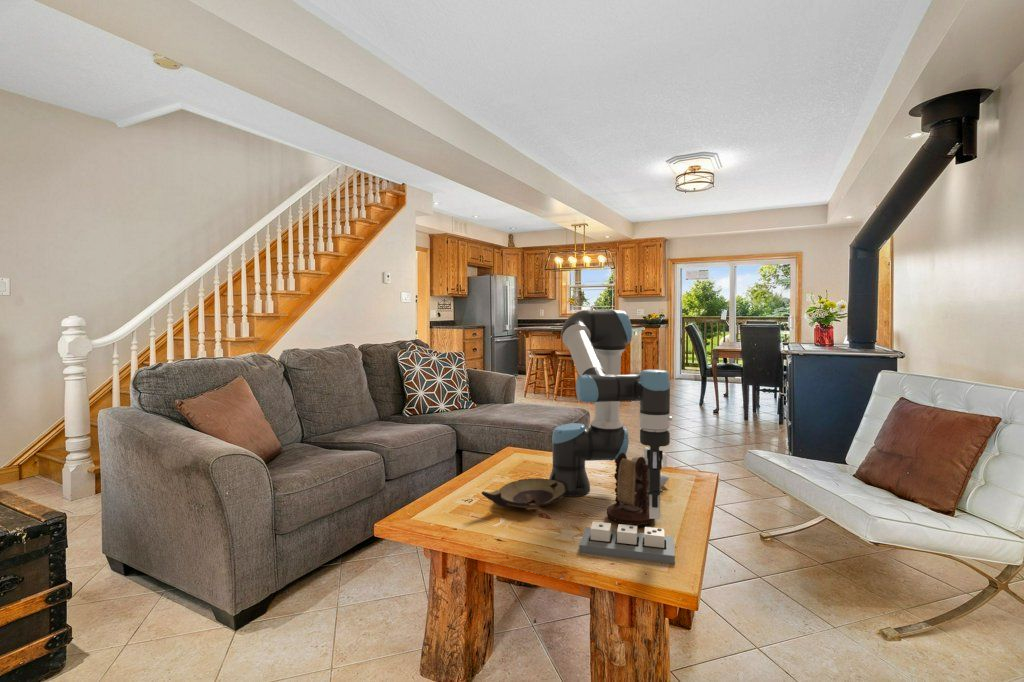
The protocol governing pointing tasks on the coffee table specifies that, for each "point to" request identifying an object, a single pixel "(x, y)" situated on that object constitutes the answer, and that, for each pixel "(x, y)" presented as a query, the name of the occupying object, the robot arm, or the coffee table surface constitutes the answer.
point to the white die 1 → (601, 531)
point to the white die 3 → (654, 537)
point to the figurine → (664, 464)
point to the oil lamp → (527, 493)
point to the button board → (628, 548)
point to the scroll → (630, 492)
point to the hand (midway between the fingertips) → (654, 517)
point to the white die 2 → (627, 534)
